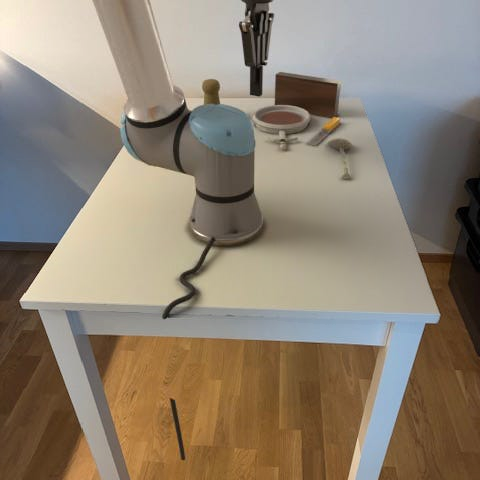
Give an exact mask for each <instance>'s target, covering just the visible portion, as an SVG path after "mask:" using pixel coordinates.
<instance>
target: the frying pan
mask: <svg viewBox="0 0 480 480" xmlns="http://www.w3.org/2000/svg"><path fill="white" fill-rule="evenodd" d="M311 118H312V117H311V114H309V113H308V111H306V110H304V109H302V108H299V107H296V106H290V105H275V104H273V105H268V106H267V105H266V106H264V107H261V108H259V109H257V110H256V111H255V112H254V114H253V116H252V120H253V121H254V122H253V123H254V124H255V127H256V128H257V129H259V130H260V131H263V132H265V133H270V134H274V135H276V134H277V135H278V136H279V137H278V138H275V137H270V136H267V141H269V142H273V143H280V145H279V149H280V150H281V151H285V150H286V149H287V145H286V143H293V142H296V141H299V137H298V136H296V137H291V138H286V137H287V136H286V135H287V134H294V133H298V132H301V131H304V130H305V129H306V128H308V124H309V123H310V121H311Z"/></svg>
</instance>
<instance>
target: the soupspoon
mask: <svg viewBox="0 0 480 480" xmlns="http://www.w3.org/2000/svg"><path fill="white" fill-rule="evenodd" d="M327 144H328V145H329V146H331V147H333V148H335V149H337V150H339V151H340V154H341V159H342V162H343V167H344V168H343V175H342V179H343V180H349V179H350V178H351V174H350V173H349V169H348V164H347V158H346V153H345V150H347V149H349V148H350V147H352V146H353V142H351V141H350V140H349V139H346V138H341V137H340V138H333V139H330V140H329V141H327Z"/></svg>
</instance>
